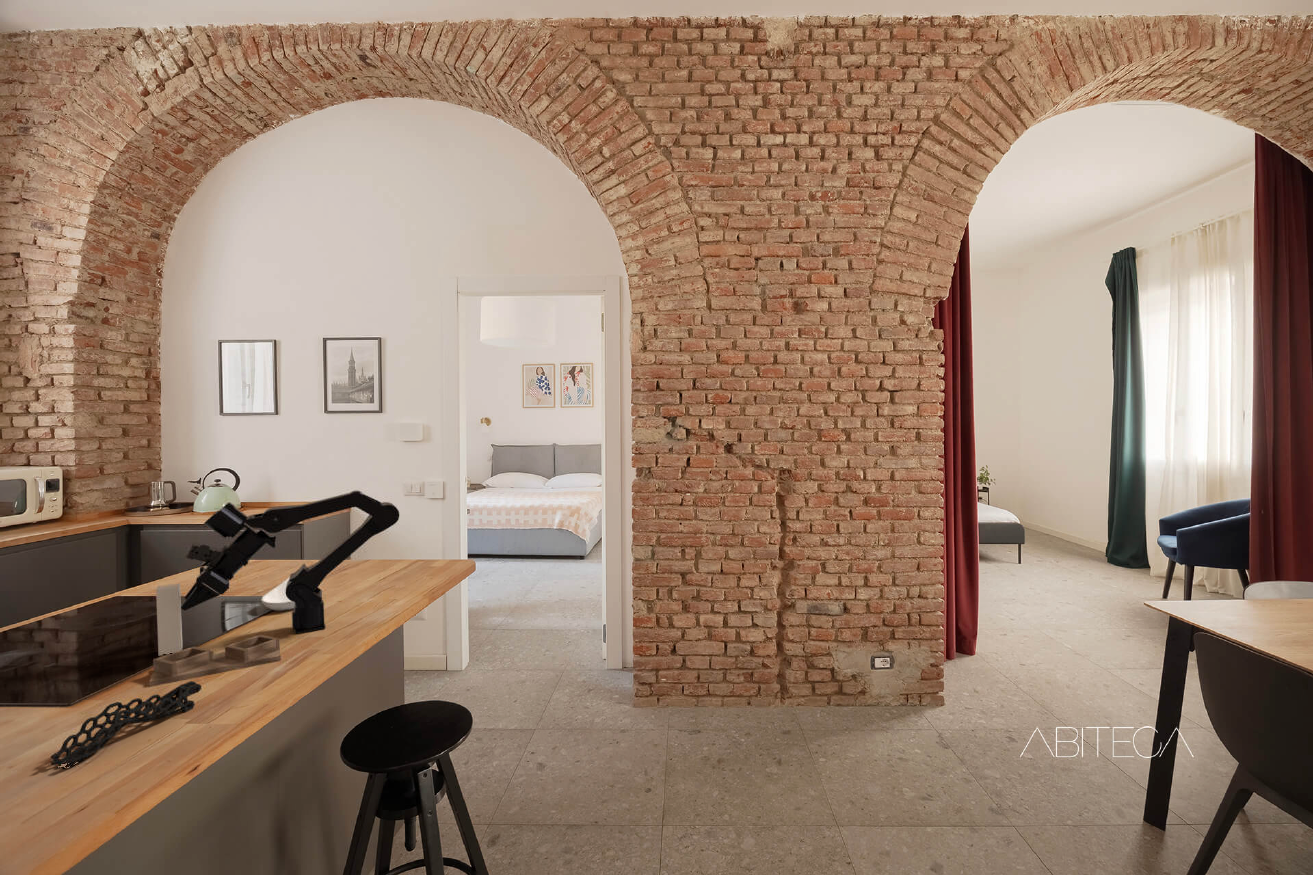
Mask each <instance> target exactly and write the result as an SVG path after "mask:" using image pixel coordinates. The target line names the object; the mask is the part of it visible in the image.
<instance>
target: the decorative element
mask: <svg viewBox="0 0 1313 875" xmlns="http://www.w3.org/2000/svg"><path fill="white" fill-rule="evenodd" d="M201 690H202V685H201V684H199V683H196V681H193V680H191V681H187V682H185V683H182V684H179V686H177V687H175V688H173V689H172V690H170V691H168V692H167V693H166V694H164V695H162V696H161V695H160V694H153V695H151V696H150V697H148V699H146V700H143V699H142V698H134V699H131V700H130V701H128V703H126V704H123V702H120V701H117V702H113V703H110V704H109V705H107V706H106V707H105V708H104V710H102V711H101V713H98V715H96V716H94V717H89V718H87V719H86V720H85V721H84V722H83V723H82V724H81V727H80V729H79V731H78V732H77V733H76V734H72V735H69V736H68V737H67V738H66V739H65V740H64V741H63V743H62V745H61V747H60V749H59V750H58V751H57V752H55V753H53V754H52V755H51V756H50V759H52V762H50V765H51V766H55V765H57V766H61V764H65V763H67V765H66V766H65V767H66V768H67V767H69V766H72V765H74V764H75V763H76V762H80V763H81V761H82V762H84V761H85V760H86V759H87V758H89V757H90V756H92V755H93V754H94V753H96V752H97V751H99V750H101V749H102V748H103V747H104V746H105V745H107V744H108V742H110V740H112V739H113V737H115V735H116V734H117V733H118V732H120V730H122V728H125V727H126V725H129V724H132V725H133V724H141V723H146V722H152V721H157V720H161V719H164V718H166V717H171V716H173V715H175V714H178V713H180V712H183V713H184V712H185V713H187V712H189V711H191V710H194V707H195V702H194V700H189V699H188V697H191V696H193V695H194V694H195V695H196V694H198V693H199V692H200V691H201ZM154 699H155V700H154ZM152 700H154V702H152ZM134 703H137V704H136V705H134V707H131V706H132V705H133V704H134ZM116 706H117V708H116V709H115V710H114V711H112V712H109V710H110V709H111V708H113V707H116ZM132 714H134V716H132ZM103 717H105V720H104V721H103V722H102V723H98V722H99V720H100V719H101V718H103ZM112 717H113V718H112ZM111 718H112V719H111ZM91 722H92V723H91ZM89 723H91V724H92V725H91V727H89V728H88V729H86V728H87V726H88V724H89ZM107 725H109V726H108V727H106V726H107ZM95 729H98V730H97V731H96V732H95V734H93V736H92V733H93V731H94V730H95ZM84 734H85V735H86V736H85V739H84V740H83V741H81V742H79V738H80V737H81V736H82V735H84ZM72 739H73V740H72ZM71 740H72V742H71V744H70V746H68V744H69V742H70V741H71ZM76 747H77V748H76ZM74 749H75V750H74ZM72 750H73V751H72ZM63 753H65V756H63V757H62V758H60V757H61V755H62V754H63ZM68 763H69V764H68Z"/></svg>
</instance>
